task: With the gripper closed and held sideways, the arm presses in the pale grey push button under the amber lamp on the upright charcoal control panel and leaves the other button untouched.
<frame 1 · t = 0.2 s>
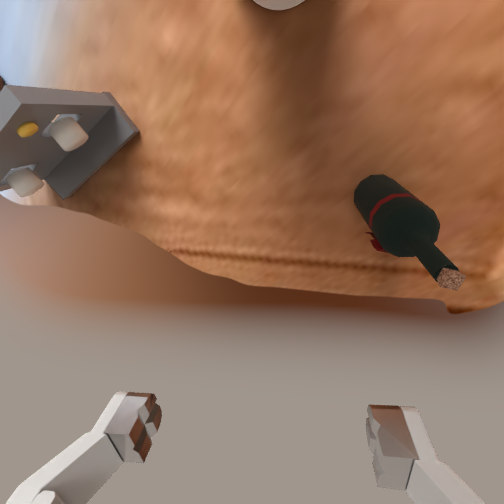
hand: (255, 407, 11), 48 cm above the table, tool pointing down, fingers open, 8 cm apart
wine bottle: (372, 200, 53), on the table
lit button: (68, 134, 45), point 11 cm above the table, slide at 0.0 cm
unlit button: (25, 182, 50), point 11 cm above the table, slide at 0.0 cm
control panel: (89, 152, 57), on the table
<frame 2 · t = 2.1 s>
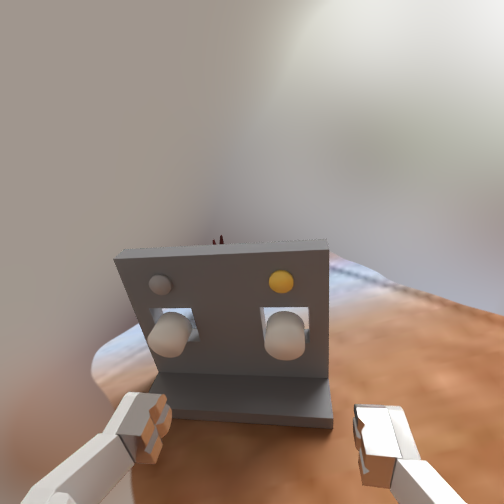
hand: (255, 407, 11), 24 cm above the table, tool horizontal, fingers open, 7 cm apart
lit button: (284, 335, 32), point 11 cm above the table, slide at 0.0 cm
unlit button: (170, 334, 34), point 11 cm above the table, slide at 0.0 cm
control panel: (238, 396, 38), on the table
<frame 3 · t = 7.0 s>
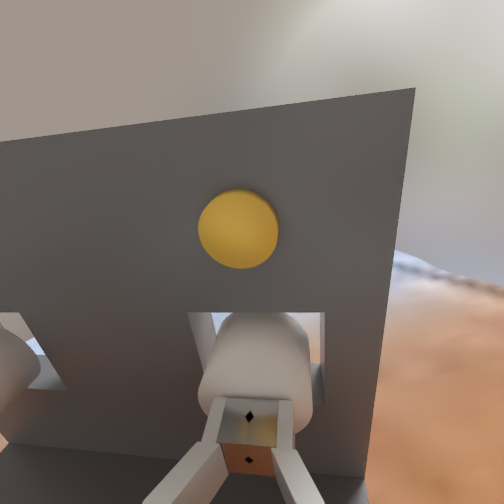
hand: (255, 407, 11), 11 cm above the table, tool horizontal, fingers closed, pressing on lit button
lit button: (258, 370, 12), point 11 cm above the table, slide at 1.1 cm, touching gripper
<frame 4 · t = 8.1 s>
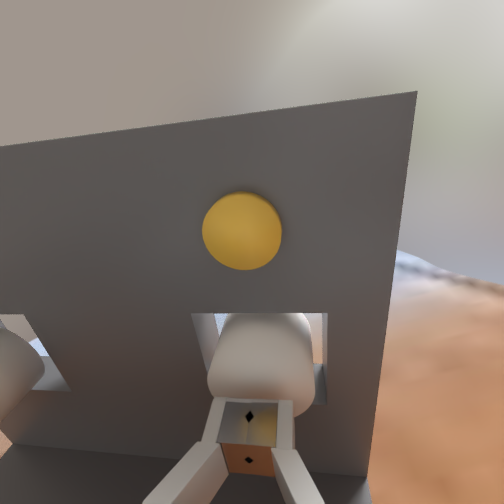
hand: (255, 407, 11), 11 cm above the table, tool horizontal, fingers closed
lit button: (263, 357, 13), point 11 cm above the table, slide at 1.9 cm
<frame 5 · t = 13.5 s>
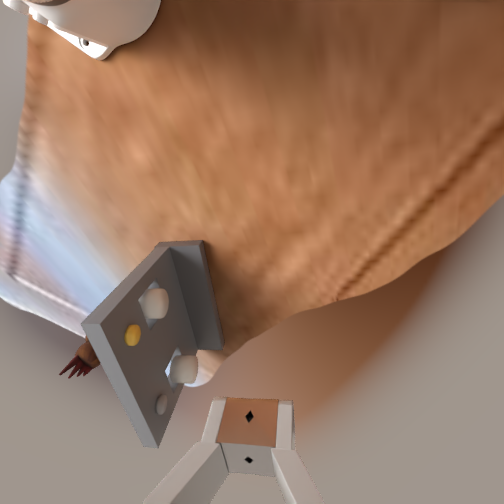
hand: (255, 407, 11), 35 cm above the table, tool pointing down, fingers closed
wooden figurine: (118, 320, 60), on the table
lit button: (151, 303, 41), point 11 cm above the table, slide at 1.9 cm
unlit button: (184, 369, 47), point 11 cm above the table, slide at 0.0 cm
control panel: (197, 296, 54), on the table
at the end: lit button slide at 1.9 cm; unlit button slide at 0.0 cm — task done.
